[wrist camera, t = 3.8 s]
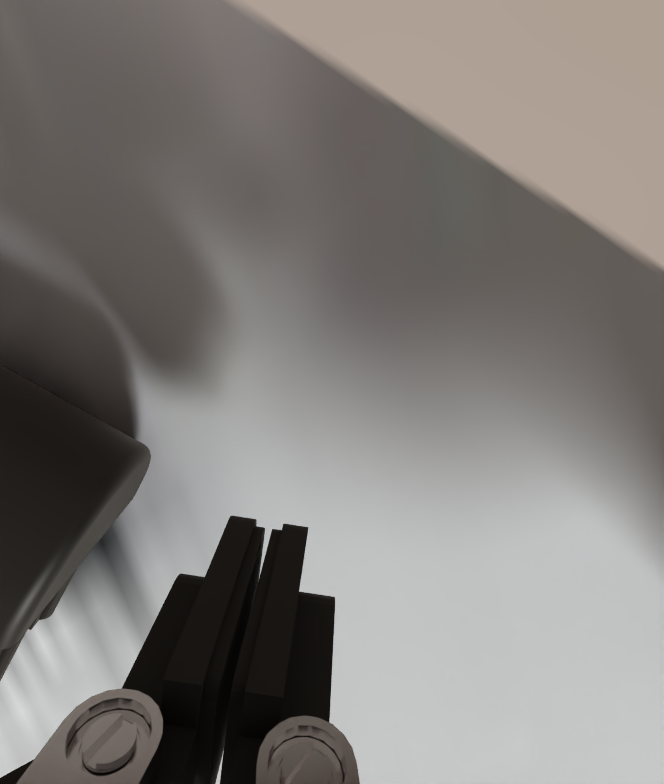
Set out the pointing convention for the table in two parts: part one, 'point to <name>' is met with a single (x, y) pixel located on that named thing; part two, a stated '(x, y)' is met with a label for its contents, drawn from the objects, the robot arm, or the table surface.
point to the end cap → (53, 498)
